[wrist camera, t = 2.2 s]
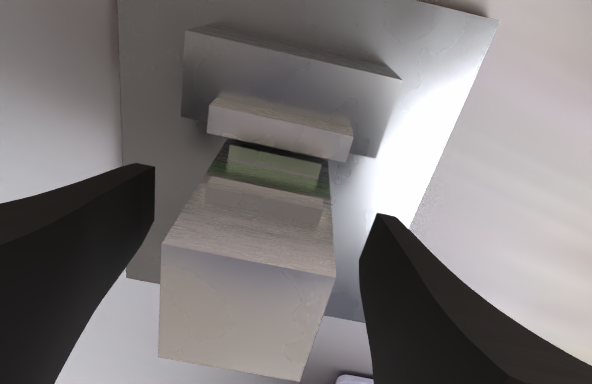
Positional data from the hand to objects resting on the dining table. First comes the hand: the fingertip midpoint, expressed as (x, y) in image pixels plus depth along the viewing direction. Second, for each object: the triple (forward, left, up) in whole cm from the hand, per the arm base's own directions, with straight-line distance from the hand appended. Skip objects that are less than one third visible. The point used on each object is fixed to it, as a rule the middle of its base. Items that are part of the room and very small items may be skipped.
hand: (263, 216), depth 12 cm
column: (0, 0, -4) cm, 4 cm away
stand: (0, 0, -4) cm, 4 cm away
